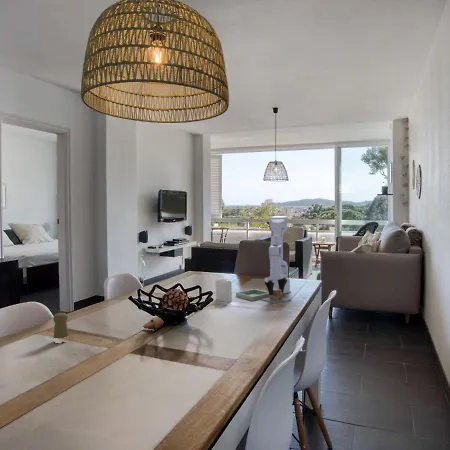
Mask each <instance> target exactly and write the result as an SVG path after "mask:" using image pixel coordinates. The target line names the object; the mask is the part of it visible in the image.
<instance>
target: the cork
mask: <svg viewBox="0 0 450 450" xmlns="http://www.w3.org/2000/svg"><path fill="white" fill-rule="evenodd" d="M52 317H53V318H52V320H53V323H54V328H53V329H54V330H53V339H54V338H64V337H67V336H69V337H70V335H69V329H68V324H67V323H68V322H67V321H68V314H67V313H66V312H58V313H55V314H54V315H53V316H52Z"/></svg>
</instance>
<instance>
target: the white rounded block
mask: <svg viewBox="0 0 450 450" xmlns="http://www.w3.org/2000/svg"><path fill="white" fill-rule="evenodd" d="M232 290H233V289H232V281H231V280H230V279H228V278H225V277H218V278H216V280H215V299H216V300H217V301H221V302H225V303H231V302H232V300H233V296H232V295H233V294H232V293H233V292H232Z"/></svg>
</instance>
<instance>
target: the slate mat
mask: <svg viewBox="0 0 450 450" xmlns="http://www.w3.org/2000/svg"><path fill="white" fill-rule="evenodd" d="M261 301H262V302H263V301H264V302H268V303H271V304H274V305H280V304H284V303H285V304H286V303H289V302H292V298H287V297H283V296H282V299H280V300H273V299H270V297H268V298H263V299H261Z"/></svg>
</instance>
